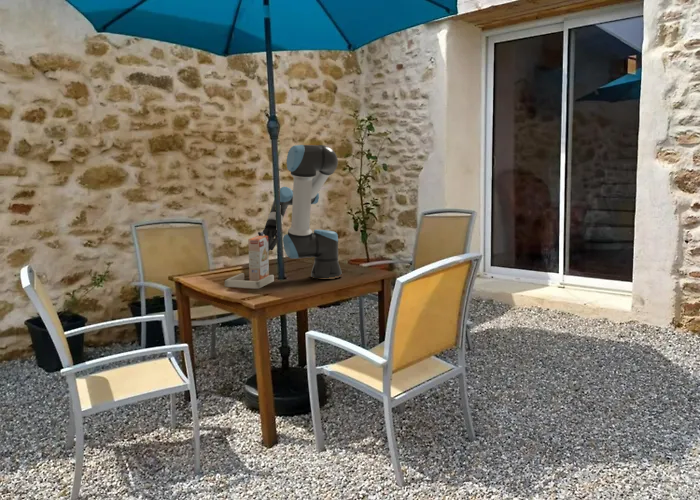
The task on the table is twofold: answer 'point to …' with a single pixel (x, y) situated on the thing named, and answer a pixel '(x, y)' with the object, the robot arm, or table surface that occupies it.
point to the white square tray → (247, 282)
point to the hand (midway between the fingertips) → (261, 260)
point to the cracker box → (258, 258)
